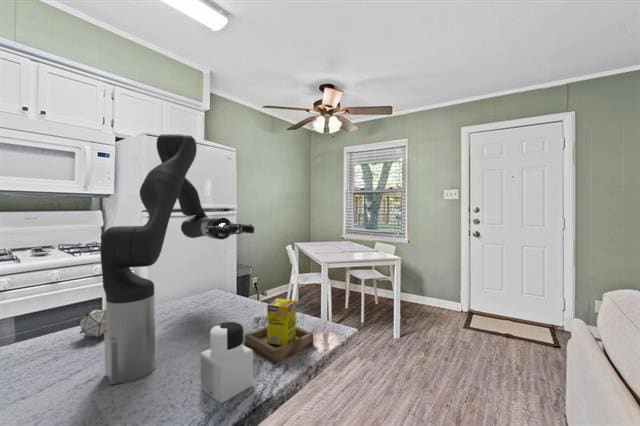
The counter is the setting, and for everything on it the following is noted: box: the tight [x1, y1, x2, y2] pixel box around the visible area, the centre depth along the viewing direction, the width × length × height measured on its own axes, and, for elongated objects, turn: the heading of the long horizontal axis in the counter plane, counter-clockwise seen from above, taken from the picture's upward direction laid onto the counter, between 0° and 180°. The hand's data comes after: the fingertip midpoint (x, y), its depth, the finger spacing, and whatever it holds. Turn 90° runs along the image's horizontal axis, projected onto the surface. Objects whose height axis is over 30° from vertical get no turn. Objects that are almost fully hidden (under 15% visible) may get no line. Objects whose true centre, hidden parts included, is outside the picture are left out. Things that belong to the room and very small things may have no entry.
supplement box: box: [266, 298, 297, 347], centre depth 79 cm, size 6×6×11 cm
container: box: [200, 321, 254, 404], centre depth 61 cm, size 8×8×13 cm
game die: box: [76, 306, 107, 340], centre depth 85 cm, size 9×8×10 cm
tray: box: [244, 325, 314, 364], centre depth 79 cm, size 13×13×3 cm
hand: (241, 230), depth 91 cm, fingers open, 8 cm apart
